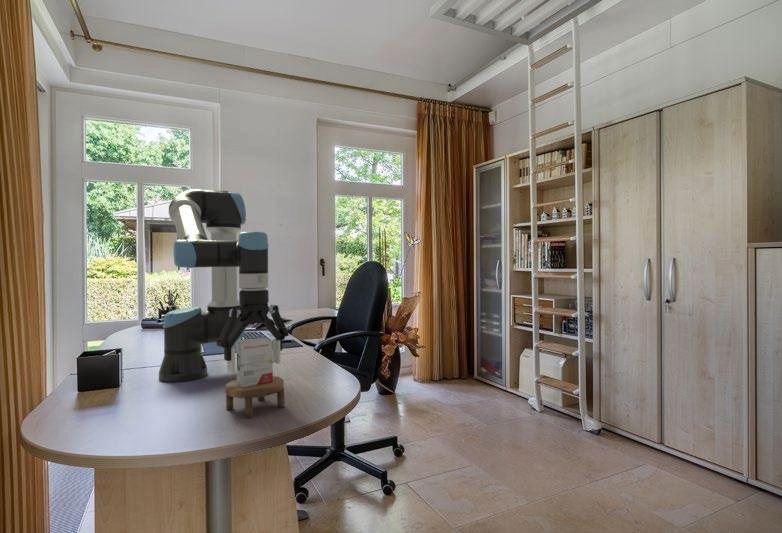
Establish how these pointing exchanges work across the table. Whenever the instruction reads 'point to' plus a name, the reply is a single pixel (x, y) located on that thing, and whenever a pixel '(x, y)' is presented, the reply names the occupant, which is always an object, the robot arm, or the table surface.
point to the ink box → (254, 361)
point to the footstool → (254, 393)
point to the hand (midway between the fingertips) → (254, 367)
